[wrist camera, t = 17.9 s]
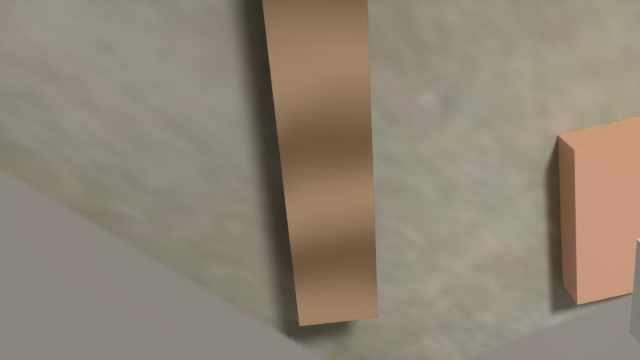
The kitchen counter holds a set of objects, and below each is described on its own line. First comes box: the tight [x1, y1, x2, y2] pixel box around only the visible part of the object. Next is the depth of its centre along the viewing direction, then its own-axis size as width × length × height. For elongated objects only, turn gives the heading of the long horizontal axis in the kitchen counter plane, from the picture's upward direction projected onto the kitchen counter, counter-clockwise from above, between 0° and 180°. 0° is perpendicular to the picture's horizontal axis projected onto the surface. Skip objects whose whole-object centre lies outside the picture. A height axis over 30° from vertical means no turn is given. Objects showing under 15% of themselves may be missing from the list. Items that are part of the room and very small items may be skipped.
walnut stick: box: [262, 0, 378, 326], centre depth 27 cm, size 20×4×4 cm, turn 4°
